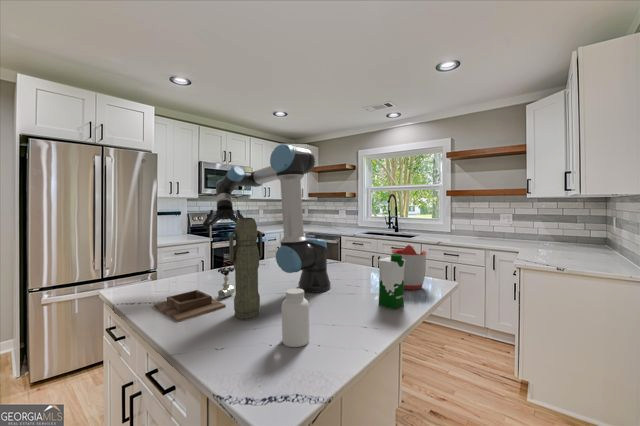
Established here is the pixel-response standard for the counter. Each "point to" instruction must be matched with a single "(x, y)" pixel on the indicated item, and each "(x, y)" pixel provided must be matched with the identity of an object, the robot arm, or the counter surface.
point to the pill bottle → (295, 318)
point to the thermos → (246, 268)
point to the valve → (226, 283)
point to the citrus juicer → (412, 267)
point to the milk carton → (391, 281)
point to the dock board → (188, 305)
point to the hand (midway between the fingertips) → (226, 238)
